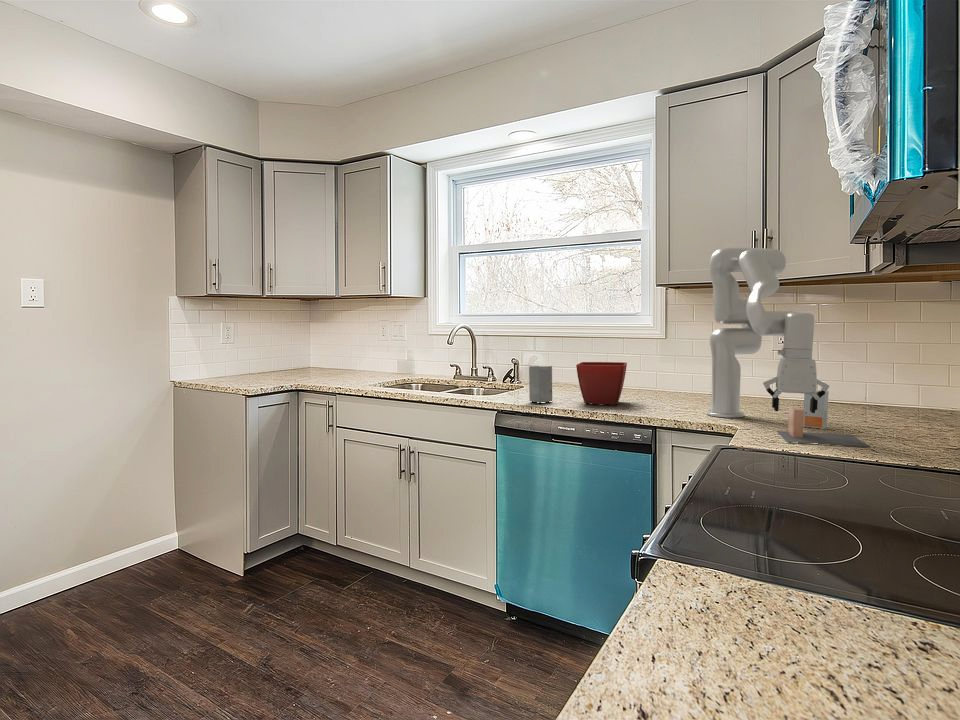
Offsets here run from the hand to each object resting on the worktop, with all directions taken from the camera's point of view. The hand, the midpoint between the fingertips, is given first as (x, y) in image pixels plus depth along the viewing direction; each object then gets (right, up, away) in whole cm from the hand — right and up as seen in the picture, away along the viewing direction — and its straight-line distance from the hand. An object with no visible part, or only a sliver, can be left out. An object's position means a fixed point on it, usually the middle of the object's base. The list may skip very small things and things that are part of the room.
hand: (794, 411), depth 168 cm
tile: (0, -7, 0) cm, 7 cm away
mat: (+5, -8, -5) cm, 10 cm away
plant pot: (-43, -3, +68) cm, 80 cm away
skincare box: (+14, -7, +13) cm, 20 cm away
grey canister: (-68, -3, +71) cm, 98 cm away
